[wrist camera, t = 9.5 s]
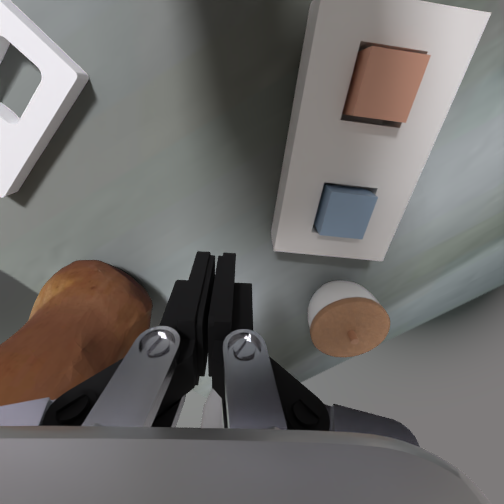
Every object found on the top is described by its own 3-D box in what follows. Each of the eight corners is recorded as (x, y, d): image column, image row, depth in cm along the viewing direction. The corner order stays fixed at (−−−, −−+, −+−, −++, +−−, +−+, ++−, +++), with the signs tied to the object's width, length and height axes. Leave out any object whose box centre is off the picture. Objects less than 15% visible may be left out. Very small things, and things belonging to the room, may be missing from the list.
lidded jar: (323, 328, 46) (339, 377, 38) (288, 292, 42) (298, 338, 34) (379, 298, 43) (410, 344, 35) (347, 255, 39) (374, 297, 30)
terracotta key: (358, 51, 23) (372, 45, 21) (411, 59, 24) (430, 55, 21) (342, 114, 26) (352, 115, 23) (390, 120, 26) (405, 123, 24)
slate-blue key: (324, 183, 29) (331, 191, 27) (366, 188, 30) (378, 197, 27) (313, 224, 32) (319, 235, 29) (353, 228, 32) (362, 239, 30)
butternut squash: (61, 291, 41) (-145, 503, 20) (86, 226, 36) (-160, 423, 14) (144, 326, 45) (50, 533, 24) (179, 273, 40) (98, 480, 18)
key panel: (310, 4, 24) (323, -17, 20) (450, 27, 26) (491, 13, 21) (270, 233, 36) (273, 251, 32) (367, 242, 38) (382, 261, 33)
